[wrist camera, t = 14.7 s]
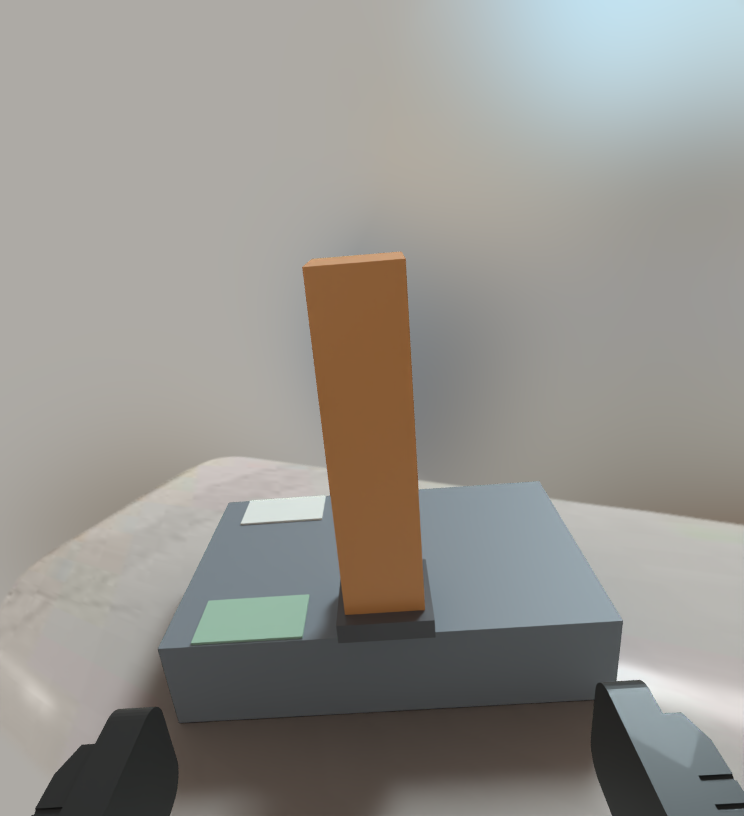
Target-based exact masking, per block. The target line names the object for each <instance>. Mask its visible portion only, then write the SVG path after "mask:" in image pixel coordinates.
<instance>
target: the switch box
mask: <svg viewBox="0 0 744 816" xmlns="http://www.w3.org/2000/svg"><path fill="white" fill-rule="evenodd" d="M418 491H419V509H420V527H421V545H422V559H426V564H427V571H428V578H429V585H430V591H431V598H432V605H433V612H434V618H435V635H436V637H435V638H418V639H402V640H385V641H369V642H352V643H338V637H337V630H336V621H337V610H338V599H339V588H340V570H339V562H338V554H337V546H336V538H335V529H334V521H333V513H332V505H331V497H330V496H326V495H324V496H309V497H295V498H280V499H266V500H251V501H246V502H232V503H229V504H228V506H227V508H226V510H225V512H224V514H223V516H222V518H221V520H220V522H219V524H218V526H217V528H216V530H215V532H214V534H213V536H212V539H211V541H210V543H209V545H208V547H207V549H206V551H205V553H204V555H203V557H202V559H201V561H200V563H199V565H198V567H197V569H196V571H195V573H194V576H193V578H192V580H191V582H190V584H189V586H188V588H187V590H186V592H185V594H184V596H183V598H182V600H181V602H180V604H179V606H178V608H177V610H176V613H175V615H174V617H173V619H172V621H171V623H170V625H169V627H168V629H167V631H166V633H165V635H164V637H163V639H162V641H161V643H160V645H159V647H158V652H159V655H160V659H161V662H162V666H163V669H164V673H165V676H166V680H167V683H168V687H169V690H170V694H171V697H172V700H173V704H174V707H175V711H176V714H177V718H178V721H179V723H188V722H205V721H223V720H241V719H259V718H276V717H294V716H312V715H330V714H347V713H365V712H383V711H401V710H418V709H436V708H454V707H472V706H489V705H507V704H525V703H543V702H560V701H578V700H594V699H595V689H596V685H597V683H599V682H615V681H616V680H617V670H618V661H619V652H620V643H621V634H622V625H623V620H622V618H621V617H620V615H619V613H618V612H617V610H616V608H615V607H614V605H613V603H612V602H611V600H610V598H609V597H608V595H607V593H606V592H605V590H604V588H603V587H602V585H601V583H600V582H599V580H598V578H597V577H596V575H595V573H594V572H593V570H592V568H591V567H590V565H589V563H588V562H587V560H586V558H585V557H584V555H583V554H582V552H581V550H580V549H579V547H578V545H577V544H576V542H575V540H574V539H573V537H572V535H571V534H570V532H569V530H568V529H567V527H566V525H565V524H564V522H563V520H562V519H561V517H560V515H559V514H558V512H557V510H556V509H555V507H554V505H553V504H552V502H551V500H550V499H549V497H548V495H547V494H546V492H545V490H544V489H543V487H542V485H541V484H540V482H539V481H537V482H522V483H507V484H493V485H478V486H464V487H449V488H435V489H420V490H418Z"/></svg>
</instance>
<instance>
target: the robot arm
mask: <svg viewBox="0 0 744 816" xmlns="http://www.w3.org/2000/svg"><path fill="white" fill-rule="evenodd" d="M591 751H592V758H593V763H594V767H595V771H596V774H597V777H598V780H599V783H600V786H601V788H602V791H603V793H604V796H605V798H606V801H607V804H608V806H609V809H610V811H611V814H612V816H744V791H743V790H742V788H741V787H740V785H739V783H738V782H737V781H735V780H734V778H733V776H732V772H731V771H730V769H729V767H728V766H727V764H726V763H725V761H724V760H723V758H722V756H721V755H720V753H719V752H718V750H717V748H716V747H715V745H714V744H713V742H712V740H711V739H710V738H709V737H707V736H706V735H705V734H704V733H703V732H702V731H701V730H700V729H699V728H698V727H697V726H695V725H694V724H693V723H692V722H691V721H690V720H689V719H688V718H687V717H686V716H685V715H683V714H682V713H681V712H680V713H662V711H661V709H660V707H659V706H658V704H657V702H656V700H655V699H654V697H653V695H652V693H651V692H650V690H649V688H648V687H647V686H646V684H645V683H644V682H643V681H641V680H632V681H615V682H599V683H597V685H596V689H595V699H594V710H593V721H592V732H591ZM177 786H178V762H177V758H176V755H175V752H174V749H173V745H172V742H171V739H170V736H169V732H168V729H167V726H166V722H165V719H164V716H163V713H162V711H161V709H160V708H159V707H146V708H129V709H118V710H116V711H114V712H113V713H112V714H111V715H110V717H109V718H108V720H107V722H106V724H105V726H104V728H103V730H102V732H101V734H100V735H99V737H98V739H97V741H96V743H95V744H87V745H81V746H80V747H79V748H78V749H77V751H76V752H75V753H74V754H73V755H72V756H71V757H70V758H69V759H68V760H67V761H66V762H65V763H64V765H63V766H62V767H61V768H60V769H59V770H58V771H57V772H56V773H55V774H54V776H53V778H52V780H51V781H50V783H49V785H48V787H47V788H46V790H45V792H44V794H43V796H42V798H41V799H40V801H39V803H38V805H37V806H36V808H35V809H36V811H35V814H34V815H32V816H170V813H171V810H172V807H173V804H174V800H175V797H176V792H177Z"/></svg>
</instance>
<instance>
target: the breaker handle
mask: <svg viewBox="0 0 744 816" xmlns="http://www.w3.org/2000/svg"><path fill="white" fill-rule="evenodd" d="M302 268H303V276H304V285H305V293H306V301H307V309H308V317H309V326H310V333H311V342H312V350H313V358H314V366H315V374H316V383H317V391H318V399H319V406H320V415H321V423H322V432H323V440H324V448H325V456H326V464H327V472H328V480H329V489H330V497H331V505H332V513H333V521H334V529H335V538H336V546H337V554H338V562H339V570H340V588H339V599H338V610H337V621H336V630H337V637H338V643H352V642H369V641H385V640H402V639H418V638H435V637H436V635H435V618H434V612H433V605H432V598H431V591H430V585H429V578H428V571H427V564H426V559H422V545H421V527H420V509H419V491H418V475H417V474H418V473H417V456H416V438H415V419H414V401H413V384H412V365H411V347H410V329H409V311H408V294H407V276H406V259H405V257H404V255H403V254H402V252H391V253H379V254H367V255H354V256H342V257H332V258H331V257H330V258H318V259H311V260H310V261H309V262H308V263H307V264H305V265H304V266H303V267H302Z"/></svg>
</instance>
